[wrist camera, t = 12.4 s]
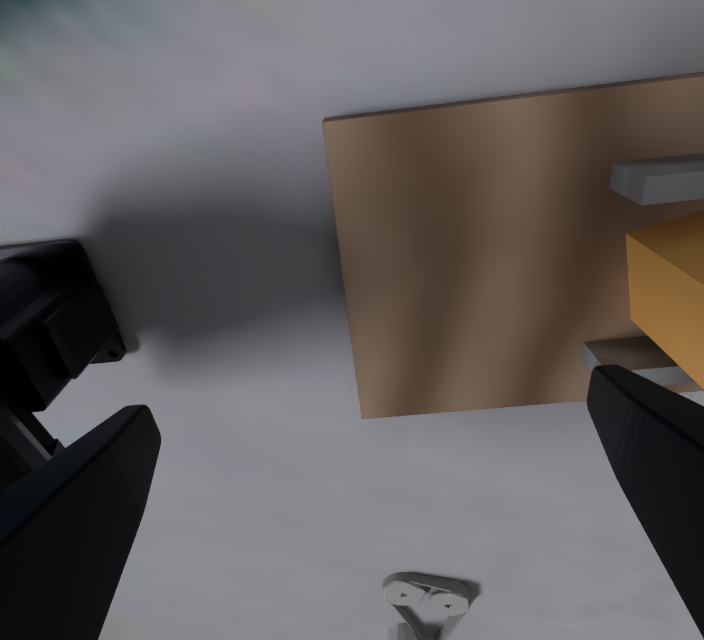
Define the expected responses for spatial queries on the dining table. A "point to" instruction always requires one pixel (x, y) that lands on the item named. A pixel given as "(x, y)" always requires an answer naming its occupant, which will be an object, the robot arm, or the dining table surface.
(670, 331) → the block
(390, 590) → the pulley system
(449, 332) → the keeper
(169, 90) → the dining table surface
